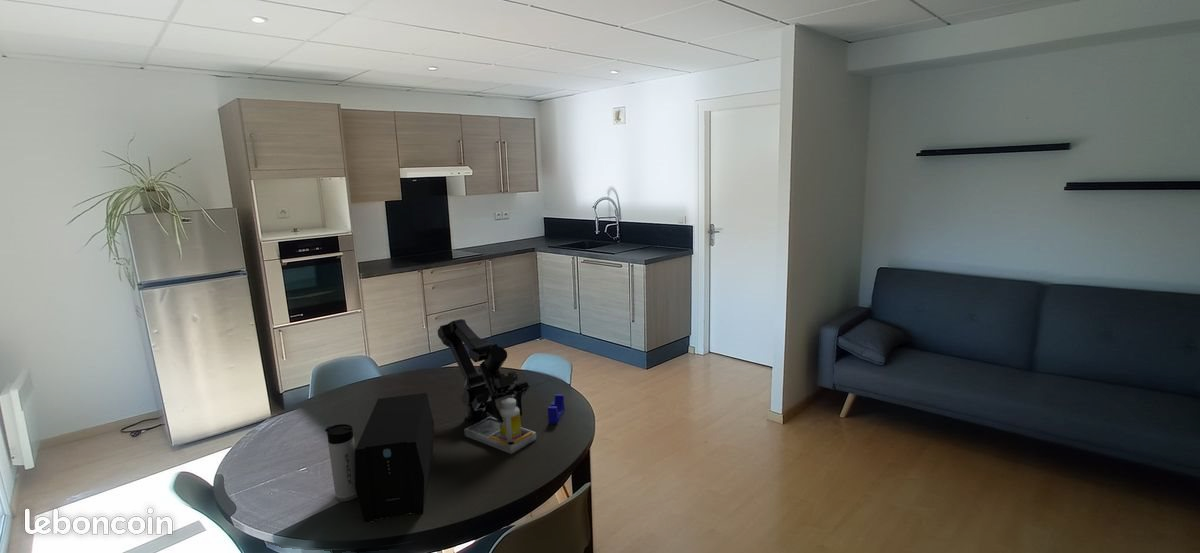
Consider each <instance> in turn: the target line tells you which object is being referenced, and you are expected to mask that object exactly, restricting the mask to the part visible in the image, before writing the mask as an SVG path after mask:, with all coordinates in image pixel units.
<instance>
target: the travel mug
mask: <svg viewBox="0 0 1200 553" xmlns="http://www.w3.org/2000/svg"><path fill="white" fill-rule="evenodd" d="M325 432H326V434H327V435H326V437H327V443H328V451H329V458H330V466H331V472H332V474H331V475H332V480H333V487H334V492H335V499H336V500H337V501H338V500H339V501H338V502H349V501H352V500H354V499H356V498H358V497H357V493H356V489H355V449H356V443H355V435H354V431H353V426H352V425H350V424H345V423H339V424H335V425H332V426H327V428H325Z"/></svg>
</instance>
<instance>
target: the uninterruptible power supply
mask: <svg viewBox="0 0 1200 553" xmlns="http://www.w3.org/2000/svg"><path fill="white" fill-rule="evenodd" d="M434 425H435V423H434V417H433V413H432V410H431V405H430V400H429V397H428V393H427V392H422V393H415V394H414V393H413V394H405V395H397V396H388V397H381V398H379V397H378V398H377V401H376V402H375V405H374V407H373V409H372V412H371V413H370V416H369V418H368V420H367V422H366V425H365V427H364V430H363V432H362V433H361V435H360V439H359V440H358V443H357V445H356V446H355V489H356V493H357V496H358V497H357V499H358V503H359V506H360V507H359V508H360V511H361V514H362V518H363V521H364V523H365V524H367V523H372V522H371V521H374V522H375V521H376V520H375V519H377V520H381V519H380V518H383V519H387V518H386V517H389V518H394V517H395V516H396V517H401V516H400V515H402V516H406V515H405V514H408V515H410V514H409V513H415V514H417V515H424V513H425V512H424V510H425V504H426V498H427V492H428V487H429V479H430V472H431V466H432V460H433V456H434V455H433V454H434V453H433V452H434V431H435V430H434V429H435V428H434V427H435V426H434ZM415 514H414V515H415ZM366 522H367V523H366Z"/></svg>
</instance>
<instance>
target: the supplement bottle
mask: <svg viewBox="0 0 1200 553" xmlns="http://www.w3.org/2000/svg"><path fill="white" fill-rule="evenodd" d="M500 402H501V403H500V404H501V408H499V409H498V411H499V413H500V415H501V417H502V419H503V422H502V423H500V422H499V423H500V436H501V438H500V439H502V440H505V441H507V442H509V443H513V441H515V440H516V439H518V438H520V437H522V435H521V427H522V424H521V422H522V421H521V416H520V409H519V408H518V407H517V406H516V399H514V398H513V397H505V398H504V399H503V398H502V400H501V401H500Z"/></svg>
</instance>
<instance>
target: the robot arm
mask: <svg viewBox="0 0 1200 553" xmlns="http://www.w3.org/2000/svg"><path fill="white" fill-rule="evenodd" d="M437 336H438V338H439V339H440V340H441V342H442V344H443V345H444V346H446V347H448V348H450V350H451V353H452V354H453V357H454V359H455V362H456V364H457V366H458V368H459V370H460V372H461V375H462V377H463V379H464V386H463V393H462V395H461V402H462V404H464V405H465V406H466V407H467V416H465V417H464V419H465V420H467V421H470V422H472V423H474V424H475V423H477V422H479V421H481V420H483V419H485V418H488V417H493V418H496V419H497V420H498V421H499V422H500V423H502V422H503V419H502V417H501V415H500V413H499V409H498V407H497V403H496V401H498V400H501V399H503V398H504V399H505V398H508V397H510V396H511V398H514V399H516V406H517V407H518V408H519V409H520V417H522V416H523V409H522V408H523V407H522V406H523V405H522V397H523V396H524V395H526V394H527V392H528V391H529V389H530V388H531V386H530V383H529V382H528V381H521V382H518V383H516V384H515V382H516V381H518V380H519V377H518V374H517V372H516V371H515V370H512V371H509V372H508V373H507V375H506V374H504V373H501V370H500V369H501V368H502V366H503V365H504V363H505V362H506V360H507V358H508V351H507V350H506V349H505V348H503V347H502V346H498V344H497V343H494V344H493V343H491V342H490V341H488V340H487V339H485V338H481V337H479V336H478V334H476V333H475V332H474V331H473V330H472V328H470V326H469V325H468V324H467V321H466V320H465V319H463V318H461V319H455V320H451V321H450V322H449V323H447V324H443V325H440V326H439V328H438V329H437ZM465 346H466V347H467V348H466V347H465ZM467 349H468V351H467ZM473 362H474V363H479V362H481V363H480V364H479V367H478V371H477V370H476V368H475V366H474V364H473ZM478 372H479V373H478ZM480 373H481V374H480ZM513 385H514V386H513ZM511 386H513V388H511Z"/></svg>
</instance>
